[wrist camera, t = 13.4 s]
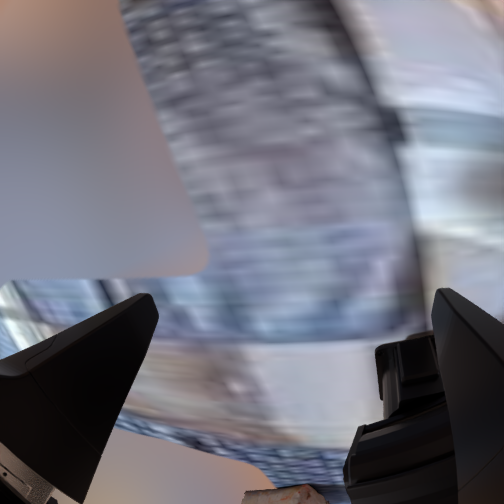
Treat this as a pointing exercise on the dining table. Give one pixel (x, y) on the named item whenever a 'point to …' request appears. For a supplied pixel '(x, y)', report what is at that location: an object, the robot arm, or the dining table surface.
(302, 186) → the dining table surface
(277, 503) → the food item
